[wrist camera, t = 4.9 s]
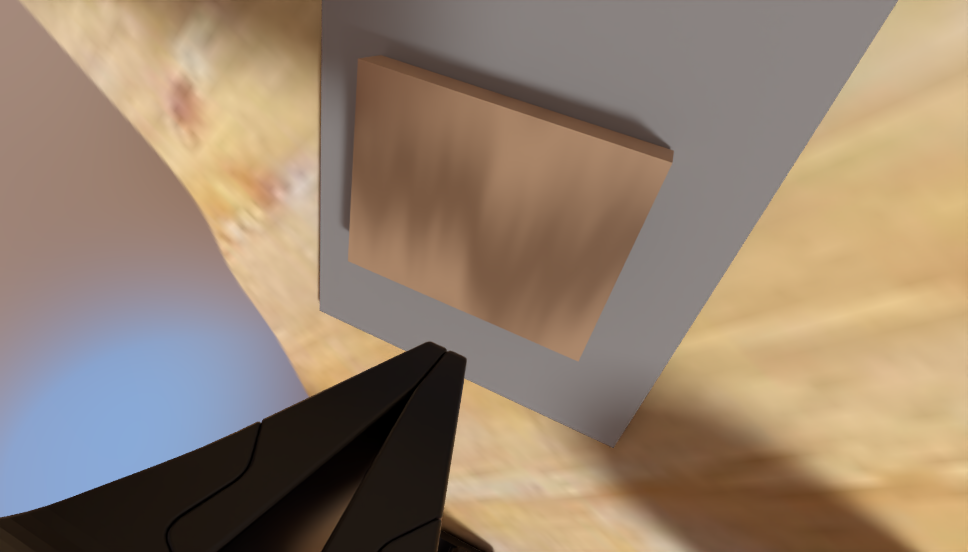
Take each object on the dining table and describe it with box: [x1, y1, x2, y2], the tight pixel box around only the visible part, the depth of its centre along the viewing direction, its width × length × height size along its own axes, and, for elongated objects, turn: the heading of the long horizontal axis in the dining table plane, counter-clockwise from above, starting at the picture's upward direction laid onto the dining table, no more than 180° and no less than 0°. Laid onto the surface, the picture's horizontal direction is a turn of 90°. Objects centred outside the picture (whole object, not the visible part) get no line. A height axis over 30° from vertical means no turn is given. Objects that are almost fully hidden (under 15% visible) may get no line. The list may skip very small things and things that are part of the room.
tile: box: [348, 55, 674, 361], centre depth 14 cm, size 7×1×9 cm
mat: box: [320, 0, 898, 448], centre depth 15 cm, size 16×14×1 cm
